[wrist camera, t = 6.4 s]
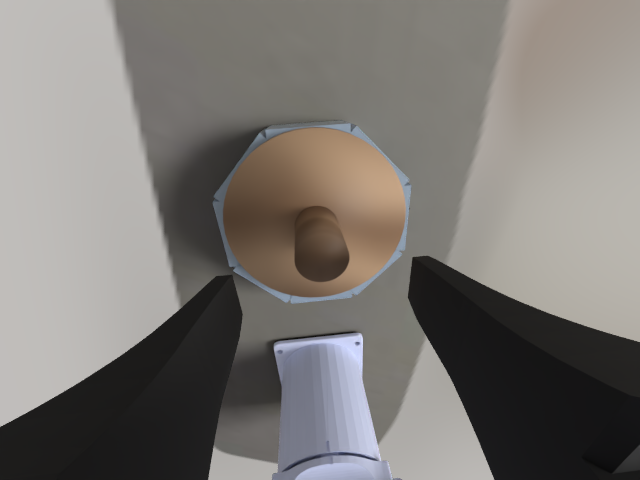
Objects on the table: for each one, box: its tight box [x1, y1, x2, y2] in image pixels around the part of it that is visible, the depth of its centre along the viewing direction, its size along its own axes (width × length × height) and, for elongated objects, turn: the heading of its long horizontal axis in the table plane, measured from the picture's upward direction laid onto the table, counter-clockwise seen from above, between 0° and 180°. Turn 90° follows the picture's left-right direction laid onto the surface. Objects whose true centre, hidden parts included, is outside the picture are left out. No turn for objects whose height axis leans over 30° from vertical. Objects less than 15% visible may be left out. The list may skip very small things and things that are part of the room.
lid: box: [223, 127, 406, 298], centre depth 13 cm, size 10×10×4 cm
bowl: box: [212, 120, 411, 304], centre depth 17 cm, size 11×11×3 cm
